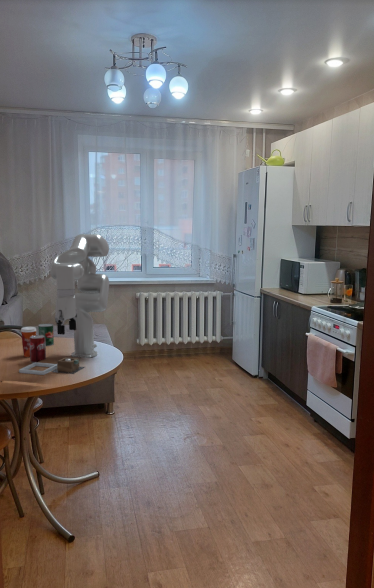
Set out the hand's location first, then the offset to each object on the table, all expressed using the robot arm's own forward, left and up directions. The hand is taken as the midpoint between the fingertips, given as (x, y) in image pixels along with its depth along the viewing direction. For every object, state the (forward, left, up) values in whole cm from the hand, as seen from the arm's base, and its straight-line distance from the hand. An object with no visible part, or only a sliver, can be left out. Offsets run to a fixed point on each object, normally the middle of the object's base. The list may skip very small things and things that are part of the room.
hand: (67, 332), depth 206 cm
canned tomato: (-43, -38, -18) cm, 60 cm away
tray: (+4, -12, -18) cm, 22 cm away
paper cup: (-20, -33, -18) cm, 43 cm away
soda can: (-12, -23, -18) cm, 32 cm away
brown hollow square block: (0, 0, -17) cm, 17 cm away
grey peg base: (0, 0, -18) cm, 18 cm away
